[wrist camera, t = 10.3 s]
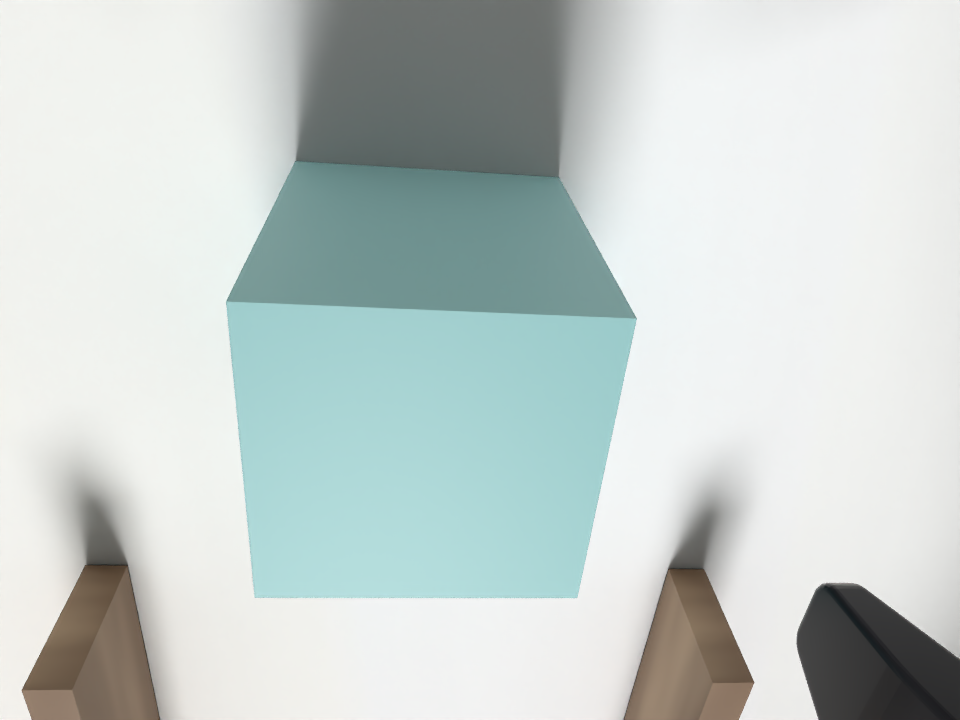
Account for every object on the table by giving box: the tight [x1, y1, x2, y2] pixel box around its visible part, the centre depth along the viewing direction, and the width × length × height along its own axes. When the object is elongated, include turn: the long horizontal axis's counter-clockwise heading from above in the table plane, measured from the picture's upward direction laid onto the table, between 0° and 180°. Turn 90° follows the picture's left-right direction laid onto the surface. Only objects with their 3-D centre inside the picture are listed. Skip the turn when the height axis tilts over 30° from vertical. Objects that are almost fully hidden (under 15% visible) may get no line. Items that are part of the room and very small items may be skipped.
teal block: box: [226, 161, 637, 598], centre depth 13 cm, size 5×5×6 cm
